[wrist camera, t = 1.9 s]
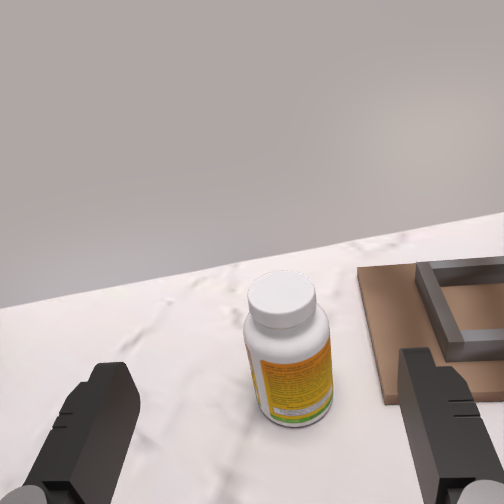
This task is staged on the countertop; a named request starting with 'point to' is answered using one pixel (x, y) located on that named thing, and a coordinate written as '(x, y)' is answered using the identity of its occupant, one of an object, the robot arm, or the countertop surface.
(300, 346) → the supplement bottle
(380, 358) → the dock board
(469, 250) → the countertop surface
